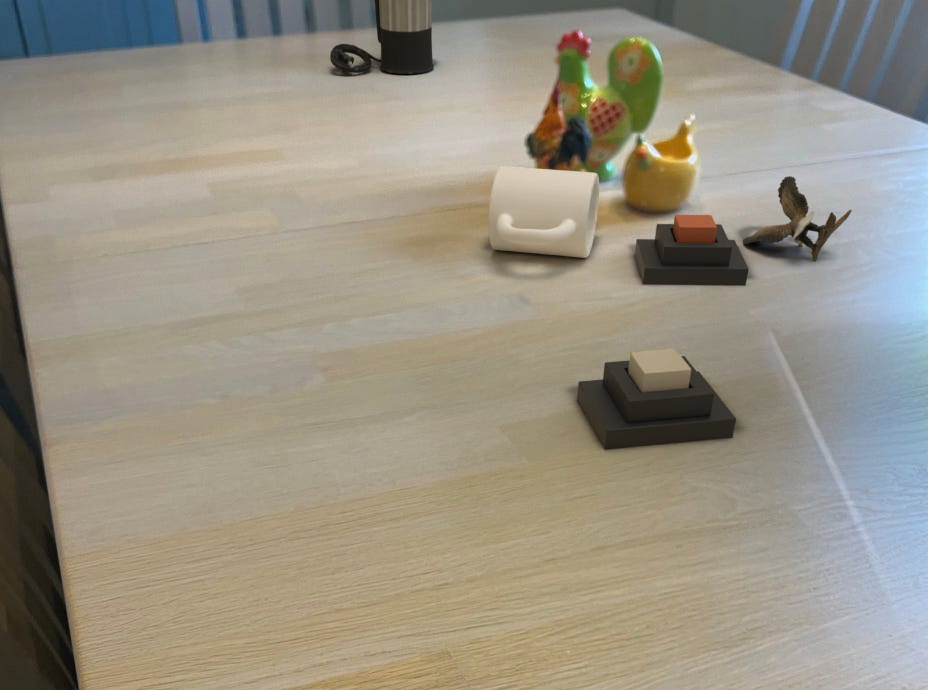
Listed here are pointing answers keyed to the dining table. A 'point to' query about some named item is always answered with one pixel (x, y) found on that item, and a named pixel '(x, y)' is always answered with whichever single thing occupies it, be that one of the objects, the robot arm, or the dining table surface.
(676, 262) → the dark grey stepped base
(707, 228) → the terracotta key
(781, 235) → the eagle figurine
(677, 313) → the dining table surface
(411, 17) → the milk frother
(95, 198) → the dining table surface
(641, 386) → the cream key
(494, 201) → the mug
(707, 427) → the black stepped base
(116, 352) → the dining table surface
